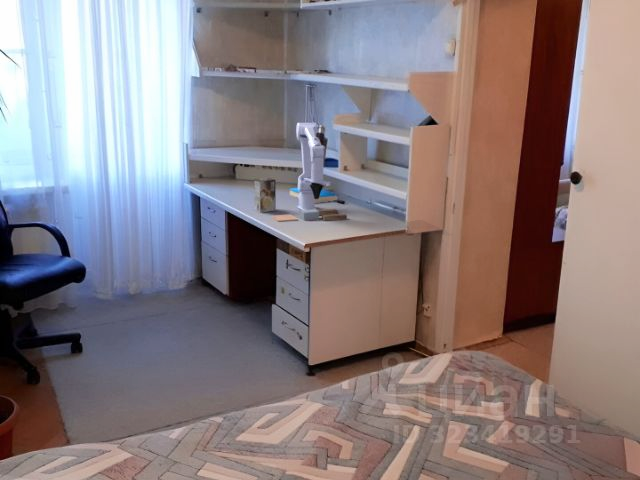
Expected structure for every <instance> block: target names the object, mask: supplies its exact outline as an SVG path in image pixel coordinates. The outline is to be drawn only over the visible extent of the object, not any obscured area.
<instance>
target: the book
mask: <svg viewBox="0 0 640 480" xmlns="http://www.w3.org/2000/svg"><path fill="white" fill-rule="evenodd" d="M299 193H300V191H299V190H298V187H294V188H293V187H292V188H289V195H290V196H291V197H295V198H298V199H299ZM333 200H338V201H339V195H338V193H334V192H332V191H328V190H325V189H323V188H322V190H321V193H320V196H319V199H315V204H318V203H319V204H320V203H321V202H322V203H329V202H328V201H331V202H334V201H333Z"/></svg>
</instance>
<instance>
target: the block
mask: <svg viewBox="0 0 640 480" xmlns="http://www.w3.org/2000/svg"><path fill="white" fill-rule="evenodd" d="M317 210H318V209H317ZM317 210H315V209H312V210H301V209H299V219H301V220H302V221H311V220H313V221H315V220H319V219H320V215H319V211H317Z"/></svg>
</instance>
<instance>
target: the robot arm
mask: <svg viewBox="0 0 640 480" xmlns="http://www.w3.org/2000/svg"><path fill="white" fill-rule="evenodd" d="M295 130H296V139H297V141H299V142H300V148H301V150H300V151H301V161H302V173H301V175H299V176H298V178H297V188H298V190H299V191H300V193H299V198H298V205H297V206H296V208H298V209H299V210H312V209H315V210H318V208H316V207H315V204H316V203H315V199H319V196H320V193H321V190H322V189H323V188H324V187H325V186H326V187H329V186H331V181H327V180H325V179H324V159H325V157H326V146H324V145H322V143H321V141H320V138H319V137H317V133H318V125H317V123H316V122H297V123H296V128H295Z"/></svg>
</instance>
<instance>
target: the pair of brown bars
mask: <svg viewBox="0 0 640 480" xmlns="http://www.w3.org/2000/svg"><path fill="white" fill-rule="evenodd" d="M317 211H319V216H321V220H322V221H323V222H324V221H327V222H328V221H340V220H347V219H348V214H347V213H339V210H338V209H337V208H327V209H326V208H325V209H317Z"/></svg>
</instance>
